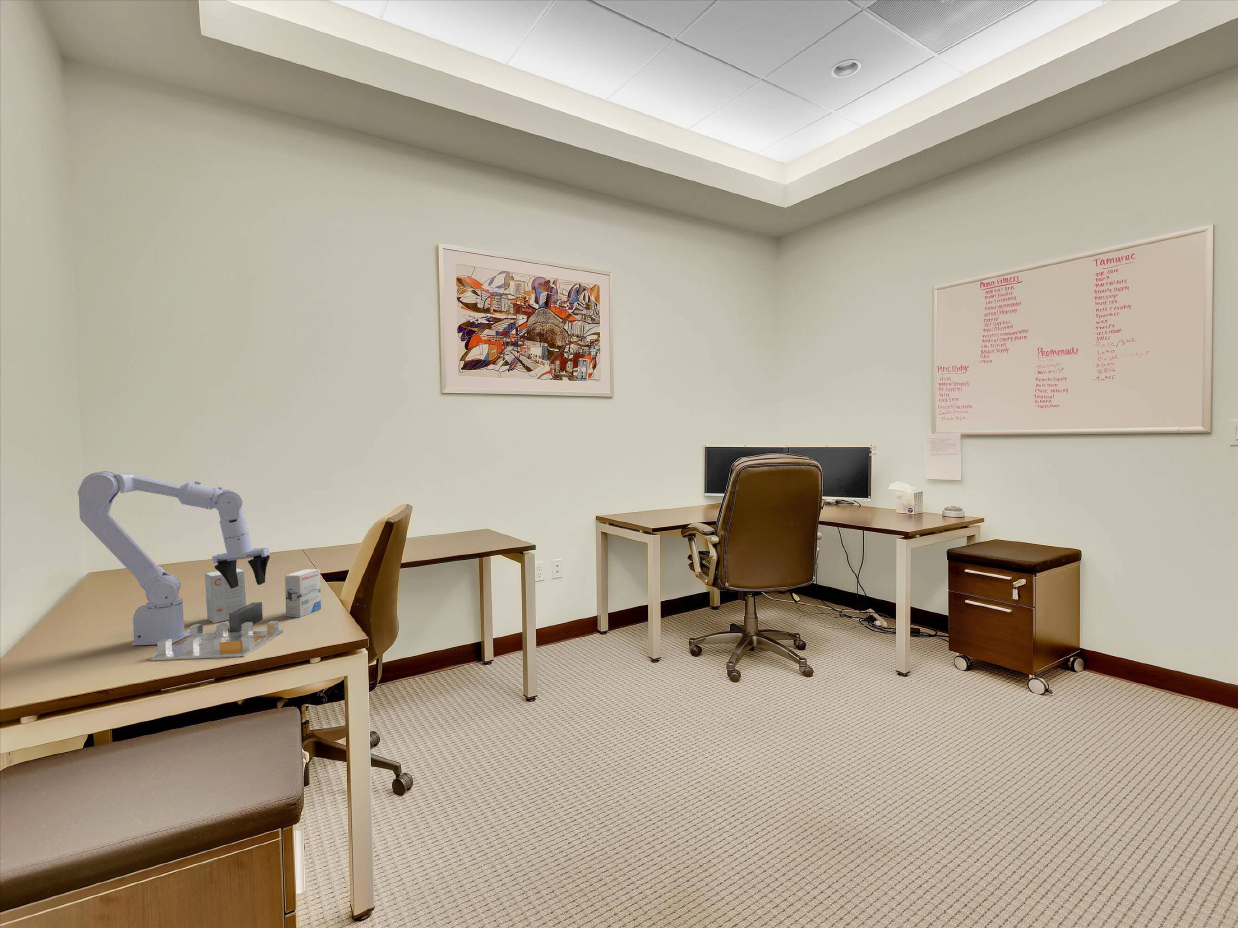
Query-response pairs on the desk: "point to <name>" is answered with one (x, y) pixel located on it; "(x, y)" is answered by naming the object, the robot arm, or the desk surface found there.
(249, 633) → the rack
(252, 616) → the panel
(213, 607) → the small box
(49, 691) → the desk surface
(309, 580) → the ink box
